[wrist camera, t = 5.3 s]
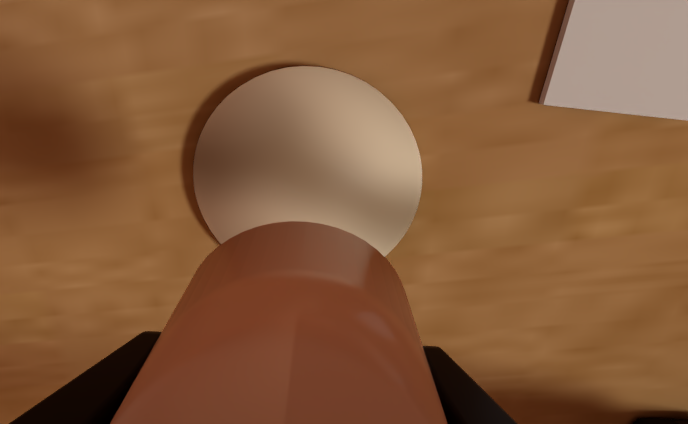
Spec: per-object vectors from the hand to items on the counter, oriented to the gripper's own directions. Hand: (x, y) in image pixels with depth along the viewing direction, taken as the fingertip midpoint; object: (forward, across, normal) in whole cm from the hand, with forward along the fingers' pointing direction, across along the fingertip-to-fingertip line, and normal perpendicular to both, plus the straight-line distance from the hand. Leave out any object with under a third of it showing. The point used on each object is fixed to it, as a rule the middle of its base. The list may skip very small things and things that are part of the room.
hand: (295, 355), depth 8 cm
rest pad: (+11, -13, -8) cm, 19 cm away
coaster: (+11, 0, 0) cm, 11 cm away
